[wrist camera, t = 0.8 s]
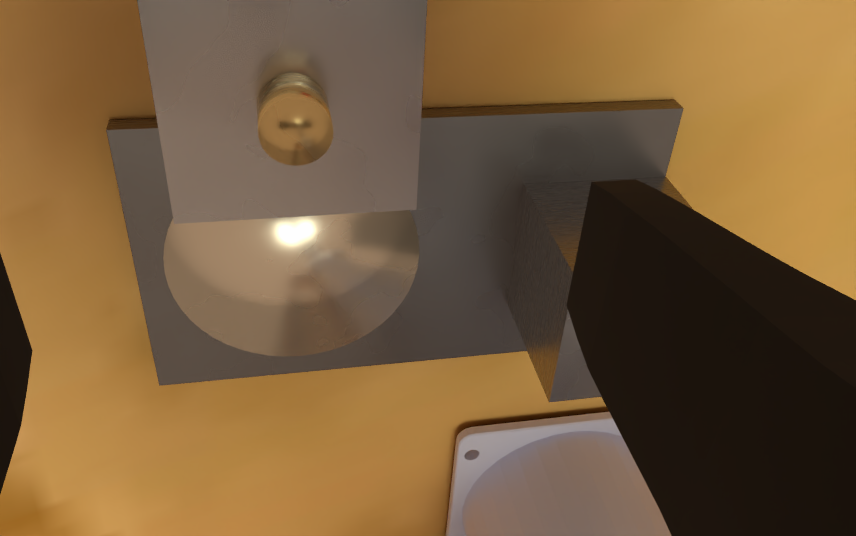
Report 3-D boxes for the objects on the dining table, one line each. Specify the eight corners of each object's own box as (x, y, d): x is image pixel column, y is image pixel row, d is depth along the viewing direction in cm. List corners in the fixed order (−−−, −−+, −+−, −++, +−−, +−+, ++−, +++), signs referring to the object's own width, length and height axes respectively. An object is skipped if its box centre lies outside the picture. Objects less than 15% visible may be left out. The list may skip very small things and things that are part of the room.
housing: (379, 99, 19) (426, 239, 15) (187, 105, 18) (170, 255, 14) (383, -102, 17) (441, -10, 12) (158, -105, 16) (125, -7, 11)
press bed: (615, 331, 25) (676, 438, 22) (160, 373, 23) (147, 501, 19) (674, 100, 21) (764, 188, 17) (109, 120, 18) (78, 229, 15)
